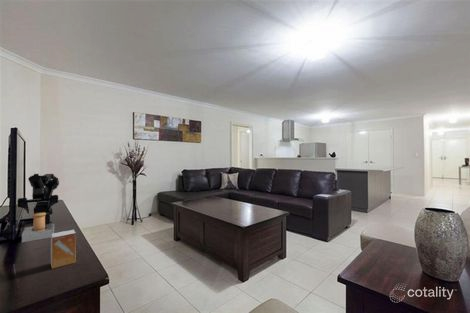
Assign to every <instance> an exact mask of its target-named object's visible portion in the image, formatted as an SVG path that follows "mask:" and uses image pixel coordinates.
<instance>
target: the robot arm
mask: <svg viewBox="0 0 470 313" xmlns="http://www.w3.org/2000/svg"><path fill="white" fill-rule="evenodd" d="M59 180H60V179H59V178H58V177H57V176H56V175H55V174H54V173H46V174H43V175H39V173H34V174H33V175H30V176H29V177H28V181H29V184H30V187H32V195H31V196H32V197H31V199H28V198H27V197H19V198H17V208H21V209H24V210H25V211H26V213H27V214H29V213H30V208H29V204H33V203H34V204H35V203H36V204H35V206H34V207H33V214H36V213H46V215H45V225H49V224H53V221H51V216H50V215H53V214H54V213H53V208H52V207H53V206H54V205H56V204H58V203H59V195H58V194H53V193H54V190H56V189H58V186H59V185H60V181H59Z"/></svg>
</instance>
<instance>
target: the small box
mask: <svg viewBox="0 0 470 313" xmlns="http://www.w3.org/2000/svg"><path fill="white" fill-rule="evenodd" d="M76 240H77V232H76V231H75V229H70V230H64V231H60V232H54V233H53V234H51V237H50V265H51V269H52V270H53V269H56V268H59V267H60V268H61V267H63V266H67V265H71V264H75V263H76V262H77V260H76V258H77V256H76V253H77V250H76V247H77V246H76V245H77V241H76Z"/></svg>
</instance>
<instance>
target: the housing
mask: <svg viewBox="0 0 470 313" xmlns="http://www.w3.org/2000/svg"><path fill="white" fill-rule="evenodd" d="M53 233H55V223H49V224H45V229H41V230H35V231H33V226H29V227H24V230H23V231H22V232H21V243H27V242H33V241H38V240H43V239H49V238H50V239H51V234H53Z"/></svg>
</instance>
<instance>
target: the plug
mask: <svg viewBox="0 0 470 313" xmlns="http://www.w3.org/2000/svg"><path fill="white" fill-rule="evenodd" d="M45 215H46V213H36V214H34V213H32V218H33V222H32V223H33V226H32V227H33V231H35V230H41V229H45V225H46V224H45Z"/></svg>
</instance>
